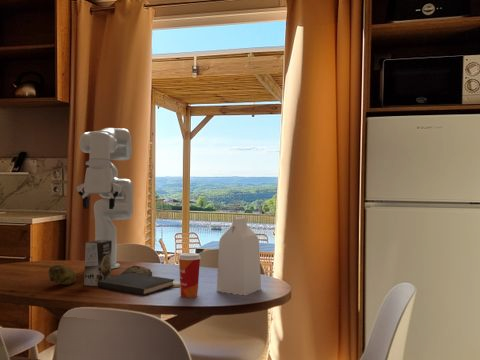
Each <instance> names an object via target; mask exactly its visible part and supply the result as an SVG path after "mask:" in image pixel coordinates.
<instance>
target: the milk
mask: <svg viewBox="0 0 480 360" xmlns="http://www.w3.org/2000/svg"><path fill="white" fill-rule="evenodd" d="M232 220H233V221H232V224H231V227H229V229H227V230H226V231H225V233H223V234H222V235H221V237H220V238H219V241H218V242H219V243H218V259H217V273H216V275H217V277H216V292H217V291H222V292H221V293H224V292H227V293H226V294H230V293H233V294H232V295H236V294H239V295H238V296H242V295H245V296H247V295H249V293H250V294H252V292H253V293H255V292H258V291H260V290H261V289H262V277H261V275H262V274H261V255H260V254H261V253H260V239H259V236H258V235H257V234H256V233H255V232H254V231H253V230H252V229H251V228H250V226H248V223H247V218H246V217H235V218H233V219H232ZM257 290H258V291H257Z"/></svg>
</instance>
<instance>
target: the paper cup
mask: <svg viewBox="0 0 480 360" xmlns="http://www.w3.org/2000/svg"><path fill="white" fill-rule="evenodd" d="M177 259H178V261H179V262H178V263H179V282H180V287H179V289H180V290H179V291H180V297H181V296H182V298H185V297H186V299H187V298H188V299H190V298H189V297H192V298H195V297H198V292H199V278H200V262H201V259H202V257H201V255H200V253H197V252H196V253H195V252H185V253H179V255H178V258H177Z"/></svg>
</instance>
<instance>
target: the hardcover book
mask: <svg viewBox="0 0 480 360" xmlns="http://www.w3.org/2000/svg"><path fill="white" fill-rule="evenodd" d="M173 282H175V279H174V278H167V277H160V276H154V275H152V276H148V275H141V274H134V273H127V274H123V275H120V274H118V275H116V276H111V278H108V279H104V280H100V281H98V283H97V285H98V286H97V288H102V289H107V290H113V291H119V292H124V293H128V294H136V295H141V296H147V295H150V294H153V293H156V292H159V291H162V290H165V289H168V288H171V286H174V285H173Z"/></svg>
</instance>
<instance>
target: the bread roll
mask: <svg viewBox="0 0 480 360" xmlns="http://www.w3.org/2000/svg"><path fill="white" fill-rule="evenodd" d="M127 273H134V274H141V275H148V276H153V272H152V271H151V269H150V268H147V267H146V266H145V267H144V266H141V265H131V266H128V267H127V268H126V269H124V270H123V271H122V272H121V273H120V274H119V275H123V274H127Z"/></svg>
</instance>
